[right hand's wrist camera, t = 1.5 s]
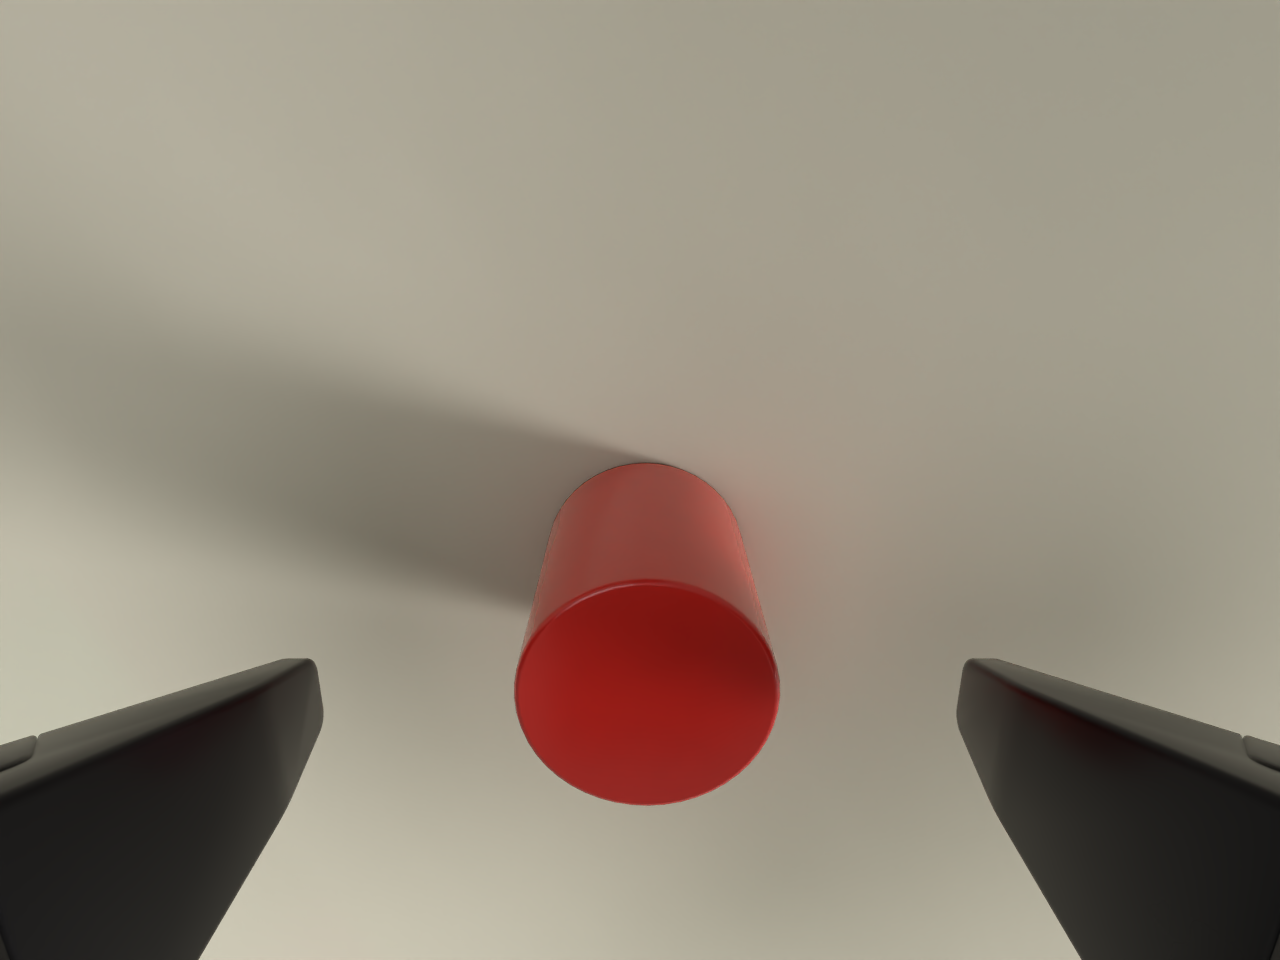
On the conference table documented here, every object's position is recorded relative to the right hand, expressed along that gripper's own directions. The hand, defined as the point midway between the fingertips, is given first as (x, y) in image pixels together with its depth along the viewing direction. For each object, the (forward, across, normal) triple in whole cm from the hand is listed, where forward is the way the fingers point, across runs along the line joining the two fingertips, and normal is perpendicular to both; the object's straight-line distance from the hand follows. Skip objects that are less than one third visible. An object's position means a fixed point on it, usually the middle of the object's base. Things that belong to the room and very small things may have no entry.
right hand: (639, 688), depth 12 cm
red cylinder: (+4, 0, 0) cm, 5 cm away
